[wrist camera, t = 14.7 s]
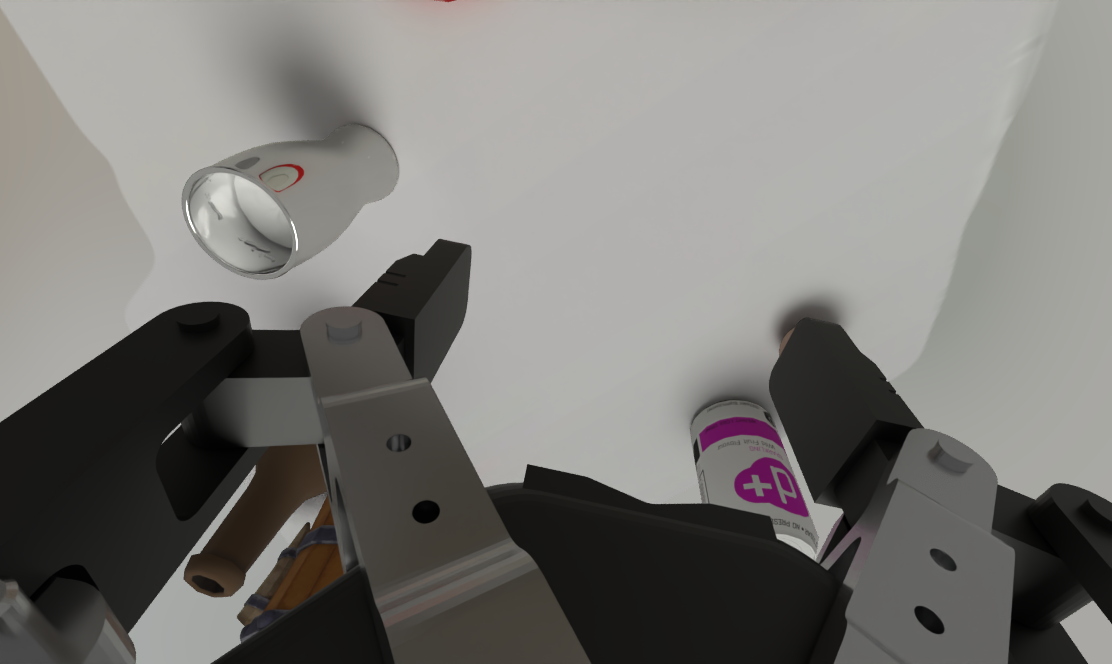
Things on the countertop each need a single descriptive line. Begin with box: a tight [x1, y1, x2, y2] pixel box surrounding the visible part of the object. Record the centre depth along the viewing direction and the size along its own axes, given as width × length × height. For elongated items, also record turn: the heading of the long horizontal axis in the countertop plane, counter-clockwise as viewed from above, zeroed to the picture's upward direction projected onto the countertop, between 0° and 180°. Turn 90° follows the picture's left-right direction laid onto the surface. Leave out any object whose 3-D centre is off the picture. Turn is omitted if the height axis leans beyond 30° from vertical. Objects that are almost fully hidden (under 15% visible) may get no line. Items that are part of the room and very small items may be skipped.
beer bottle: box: [184, 444, 327, 597], centre depth 40 cm, size 8×8×24 cm
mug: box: [237, 494, 344, 643], centre depth 54 cm, size 19×14×20 cm
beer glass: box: [182, 124, 399, 280], centre depth 33 cm, size 7×7×15 cm
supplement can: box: [690, 400, 819, 560], centre depth 43 cm, size 8×8×15 cm
